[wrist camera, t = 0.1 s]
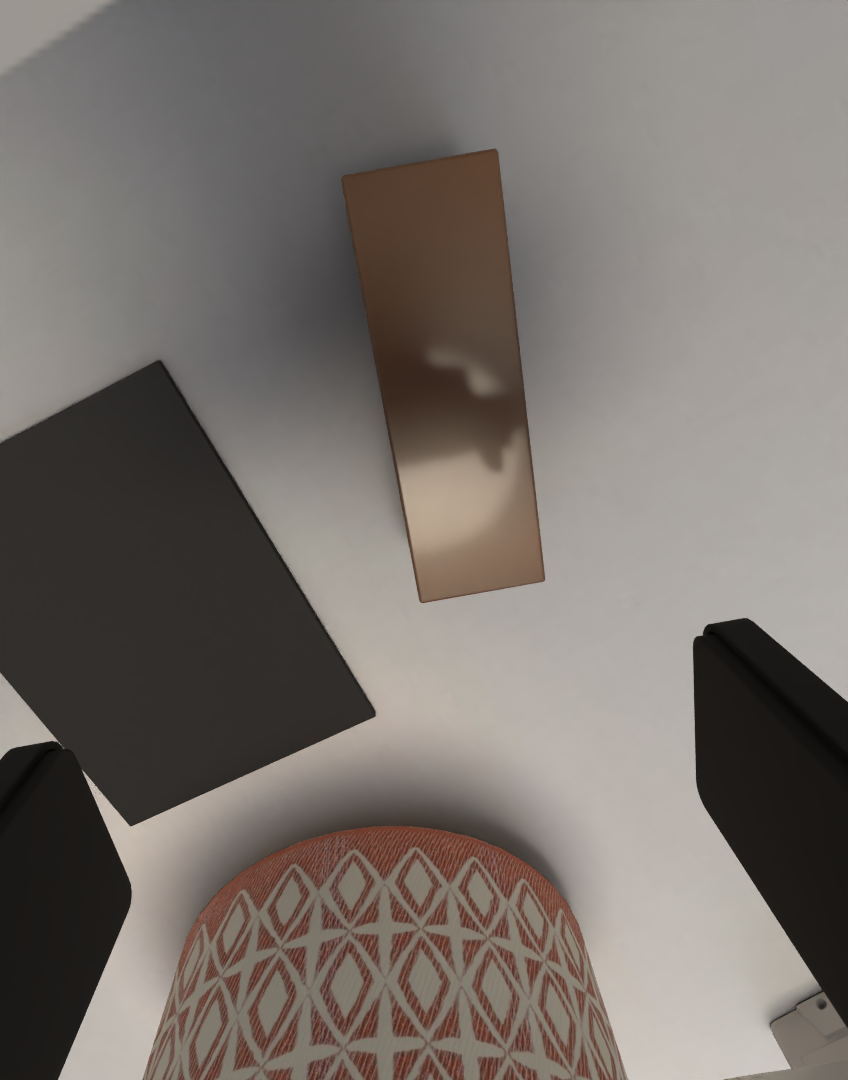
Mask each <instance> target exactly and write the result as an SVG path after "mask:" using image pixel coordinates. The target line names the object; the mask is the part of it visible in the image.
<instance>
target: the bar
mask: <svg viewBox="0 0 848 1080" xmlns="http://www.w3.org/2000/svg"><path fill="white" fill-rule="evenodd" d="M341 183H342V188H343V194H344V199H345V204H346V210H347V215H348V220H349V226H350V231H351V237H352V242H353V247H354V253H355V258H356V263H357V269H358V274H359V279H360V285H361V290H362V296H363V301H364V306H365V312H366V317H367V322H368V328H369V333H370V338H371V344H372V349H373V354H374V360H375V365H376V371H377V376H378V381H379V387H380V392H381V397H382V403H383V408H384V413H385V419H386V424H387V430H388V435H389V440H390V446H391V451H392V456H393V462H394V467H395V472H396V478H397V483H398V488H399V494H400V499H401V505H402V510H403V515H404V521H405V526H406V531H407V537H408V542H409V547H410V553H411V558H412V563H413V569H414V574H415V580H416V585H417V590H418V596H419V601H420V602H421V603H426V602H431V601H437V600H442V599H448V598H454V597H459V596H465V595H471V594H476V593H482V592H487V591H493V590H499V589H504V588H510V587H516V586H521V585H527V584H532V583H538V582H543V581H544V580H545V574H544V564H543V555H542V546H541V537H540V528H539V519H538V510H537V501H536V492H535V483H534V474H533V465H532V455H531V446H530V437H529V428H528V419H527V410H526V401H525V392H524V383H523V374H522V365H521V356H520V346H519V337H518V328H517V319H516V310H515V301H514V292H513V283H512V274H511V265H510V256H509V247H508V237H507V228H506V219H505V210H504V201H503V192H502V183H501V174H500V165H499V156H498V151H497V149H490V150H484V151H478V152H473V153H467V154H461V155H456V156H450V157H444V158H439V159H433V160H428V161H422V162H416V163H411V164H405V165H399V166H394V167H388V168H382V169H377V170H371V171H365V172H360V173H354V174H349V175H344V176H342V177H341Z"/></svg>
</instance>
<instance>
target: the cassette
mask: <svg viewBox="0 0 848 1080" xmlns="http://www.w3.org/2000/svg"><path fill="white" fill-rule="evenodd" d="M771 1030H772V1032H773V1035H774V1037H775V1039H776V1041H777V1043H778V1045H779V1046H780V1048H781V1050H782V1052H783V1054H784V1056H785V1058H786V1060H787V1061H788V1063H789V1065H790V1067H791V1069H794V1068H801V1067H807V1066H814V1065H821V1064H827V1063H834V1062H840V1061H847V1060H848V1028H847V1027H846V1025H845V1024H844V1022H843V1021H842V1019H841V1018H840V1016H839V1015H838V1013H837V1012H836V1010H835V1008H834V1007H833V1005H832V1004H831V1002H830V1001H829V999H828V998H827V996H826V994H825V993H824V992H822V993H820V994H818V995H816V996H814V997H812V998H810V999H808V1000H806V1001H804V1002H802V1003H800V1004H799V1005H796V1010H794V1011H792V1012H791V1013H789V1014H787V1015H785V1016H783V1017H781V1018H779V1019H777V1020H775V1021H774V1022H773V1023H772V1024H771Z"/></svg>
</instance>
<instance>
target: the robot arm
mask: <svg viewBox="0 0 848 1080" xmlns="http://www.w3.org/2000/svg"><path fill="white" fill-rule="evenodd" d="M693 665H694V709H695V752H696V783H697V788H698V792H699V795H700V798H701V801H702V803H703V805H704V807H705V808H706V810H707V812H708V813H709V815H710V816H711V818H712V819H713V821H714V822H715V824H716V825H717V827H718V829H719V830H720V832H721V833H722V835H723V836H724V838H725V839H726V841H727V843H728V844H729V846H730V847H731V849H732V850H733V852H734V853H735V855H736V856H737V858H738V860H739V861H740V863H741V864H742V866H743V867H744V869H745V870H746V872H747V874H748V875H749V877H750V878H751V880H752V881H753V883H754V884H755V886H756V888H757V889H758V891H759V892H760V894H761V895H762V897H763V898H764V900H765V901H766V903H767V905H768V906H769V908H770V909H771V911H772V912H773V914H774V915H775V917H776V919H777V920H778V922H779V923H780V925H781V926H782V928H783V929H784V931H785V932H786V934H787V936H788V937H789V939H790V940H791V942H792V943H793V945H794V946H795V948H796V950H797V951H798V953H799V954H800V956H801V957H802V959H803V960H804V962H805V963H806V965H807V967H808V968H809V970H810V971H811V973H812V974H813V976H814V977H815V979H816V981H817V982H818V984H819V985H820V987H821V988H822V990H823V991H824V993H825V994H826V996H827V998H828V999H829V1001H830V1002H831V1004H832V1005H833V1007H834V1008H835V1010H836V1012H837V1013H838V1015H839V1016H840V1018H841V1019H842V1021H843V1022H844V1024H845V1025H846V1027H847V1028H848V702H847V701H846V700H845V699H843V698H842V697H841V696H840V695H839V694H838V693H836V692H835V691H834V690H833V689H832V688H830V687H829V686H828V685H827V684H826V683H825V682H823V681H822V680H821V679H820V678H819V677H818V676H816V675H815V674H814V673H813V672H812V671H810V670H809V669H808V668H807V667H806V666H805V665H803V664H802V663H801V662H800V661H799V660H798V659H796V658H795V657H794V656H793V655H792V654H790V653H789V652H788V651H787V650H786V649H785V648H783V647H782V646H781V645H780V644H779V643H777V642H776V641H775V640H774V639H773V638H772V637H770V636H769V635H768V634H767V633H766V632H765V631H763V630H762V629H761V628H760V627H759V626H757V625H756V624H755V623H754V622H753V621H751V620H750V619H748V618H742V619H736V620H731V621H725V622H720V623H714V624H708V625H707V626H706V627H705V629H704V632H703V636H697V637H696V638H695V639H694V642H693ZM131 897H132V890H131V884H130V881H129V878H128V876H127V873H126V871H125V869H124V866H123V864H122V862H121V860H120V857H119V855H118V853H117V850H116V848H115V846H114V843H113V841H112V839H111V836H110V834H109V832H108V829H107V827H106V825H105V823H104V820H103V818H102V816H101V813H100V811H99V809H98V806H97V804H96V802H95V799H94V797H93V795H92V792H91V790H90V788H89V785H88V783H87V781H86V779H85V776H84V774H83V772H82V769H81V767H80V765H79V762H78V760H77V758H76V756H75V754H74V752H72V751H71V750H70V749H63V747H62V746H61V745H60V744H59V743H58V742H54V741H50V742H44V743H39V744H33V745H27V746H22V747H16V748H13V749H10V750H9V751H8V752H7V753H6V754H5V755H4V756H3V757H2V758H1V760H0V1080H58V1078H59V1076H60V1073H61V1071H62V1068H63V1066H64V1064H65V1061H66V1059H67V1057H68V1054H69V1052H70V1049H71V1047H72V1045H73V1042H74V1040H75V1037H76V1035H77V1033H78V1030H79V1028H80V1025H81V1023H82V1021H83V1018H84V1016H85V1014H86V1011H87V1009H88V1006H89V1004H90V1002H91V999H92V997H93V994H94V992H95V990H96V987H97V985H98V983H99V980H100V978H101V975H102V973H103V971H104V968H105V966H106V963H107V961H108V959H109V956H110V954H111V952H112V949H113V947H114V944H115V942H116V940H117V937H118V935H119V932H120V930H121V928H122V925H123V923H124V921H125V918H126V916H127V913H128V911H129V908H130V904H131ZM725 1080H848V1060H847V1061H840V1062H834V1063H827V1064H821V1065H814V1066H807V1067H801V1068H794V1069H787V1070H781V1071H774V1072H768V1073H761V1074H754V1075H748V1076H742V1077H736V1078H730V1079H725Z"/></svg>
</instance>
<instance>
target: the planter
mask: <svg viewBox="0 0 848 1080" xmlns="http://www.w3.org/2000/svg"><path fill="white" fill-rule="evenodd" d="M143 1080H628V1078H627V1075H626V1072H625V1069H624V1066H623V1063H622V1060H621V1056H620V1053H619V1050H618V1047H617V1044H616V1041H615V1038H614V1034H613V1031H612V1028H611V1025H610V1022H609V1019H608V1016H607V1012H606V1009H605V1006H604V1003H603V1000H602V997H601V994H600V990H599V987H598V984H597V981H596V978H595V975H594V972H593V968H592V965H591V962H590V959H589V956H588V953H587V950H586V946H585V943H584V940H583V937H582V934H581V931H580V928H579V925H578V923H577V921H576V919H575V917H574V915H573V913H572V911H571V910H570V908H569V906H568V904H567V902H566V901H565V899H564V898H563V897H562V896H561V895H560V893H559V892H558V891H557V890H556V889H555V888H554V886H553V885H552V884H551V883H550V882H549V881H548V880H547V879H546V878H545V877H543V876H542V875H541V874H540V873H539V872H537V871H536V870H535V869H534V868H532V867H531V866H530V865H529V864H528V863H526V862H524V861H522V860H521V859H519V858H517V857H515V856H514V855H512V854H510V853H508V852H507V851H505V850H503V849H501V848H499V847H496V846H494V845H491V844H488V843H486V842H483V841H481V840H478V839H476V838H473V837H470V836H465V835H461V834H457V833H453V832H448V831H444V830H440V829H431V828H421V827H411V826H380V827H365V828H358V829H351V830H345V831H338V832H333V833H330V834H326V835H322V836H319V837H315V838H312V839H308V840H305V841H301V842H299V843H297V844H294V845H292V846H290V847H287V848H285V849H283V850H280V851H278V852H276V853H273V854H271V855H269V856H268V857H266V858H264V859H263V860H261V861H259V862H258V863H256V864H254V865H253V866H251V867H249V868H248V869H246V870H244V871H243V872H241V873H240V874H239V875H238V876H237V877H235V878H234V879H233V880H232V881H231V882H230V883H228V884H227V885H226V886H225V887H224V888H222V889H221V890H220V891H219V892H218V893H217V894H216V895H215V897H214V898H213V899H212V900H211V901H210V903H209V904H208V905H207V906H206V907H205V908H204V910H203V911H202V912H201V913H200V915H199V917H198V919H197V920H196V922H195V924H194V926H193V927H192V929H191V931H190V933H189V935H188V936H187V938H186V942H185V945H184V948H183V951H182V954H181V957H180V961H179V964H178V967H177V970H176V973H175V977H174V980H173V983H172V986H171V990H170V993H169V996H168V999H167V1002H166V1006H165V1009H164V1012H163V1015H162V1019H161V1022H160V1025H159V1028H158V1031H157V1035H156V1038H155V1041H154V1044H153V1048H152V1051H151V1054H150V1057H149V1061H148V1064H147V1067H146V1070H145V1073H144V1077H143Z"/></svg>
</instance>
